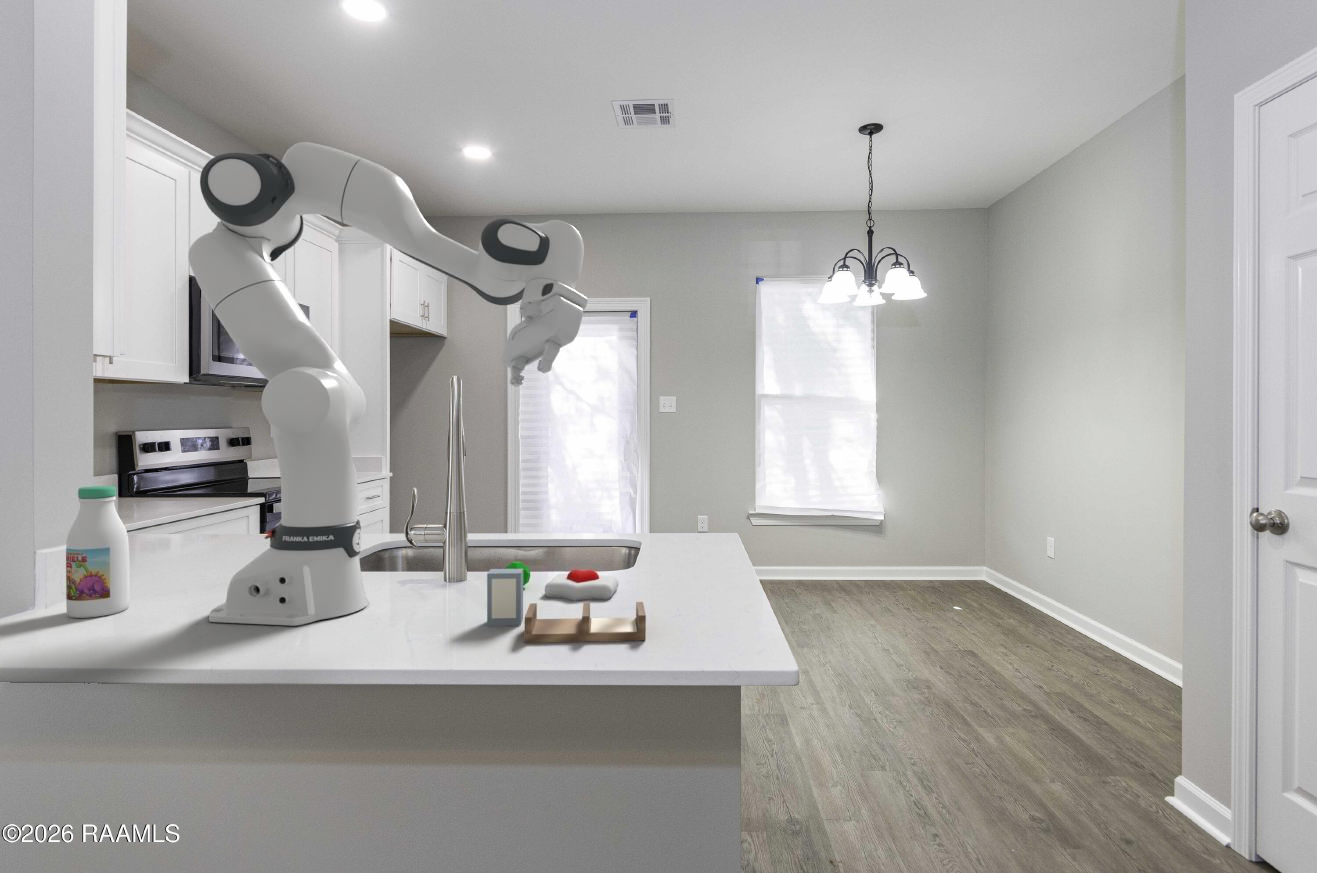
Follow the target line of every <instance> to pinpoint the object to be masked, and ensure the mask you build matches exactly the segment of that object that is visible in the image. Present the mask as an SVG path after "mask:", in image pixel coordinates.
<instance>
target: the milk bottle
mask: <svg viewBox="0 0 1317 873" xmlns="http://www.w3.org/2000/svg"><path fill="white" fill-rule="evenodd" d="M77 491H78V492H77V497H78V502H79V504H80V505H79V510H78V513H77V516H76V518H75V520H74V522H73V524H72V525H71V527H70V529H69V532H68V534H67V538H66V546H65V584H66V585H65V588H66V591H65V594H66V595H65V596H66V598H65V599H66V602H65V603H66V614H67V616H68V617H69V618H73V619H87V618H97V617H105V616H110V615H114V614H118V613H120V612H124V611H125V610H127V609H128V608H129V607H130V605H131V604H130V603H131V602H130V601H131V599H130V598H131V597H130V596H131V594H130V591H131V589H130V586H131V585H130V582H131V581H130V576H131V575H130V574H131V573H130V545H129V535H128V531H127V529H126V527H125V524H124V523H123V521H122V519H121V518H120V515H119V514H118V512H117V509H116V506H115V501H116V500H117V498H116V496H117V489H116V487H115V485H114V486H112V485H93V486H85V487H79V488H78V489H77Z"/></svg>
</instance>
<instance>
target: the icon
mask: <svg viewBox="0 0 1317 873" xmlns="http://www.w3.org/2000/svg"><path fill="white" fill-rule="evenodd" d="M618 588H619V580H618V579H617V577H616V576H614V575H601V574H600V575H599V574H598V572H597V571H595V570H593V569H586V570H581V569H571V570H570V571H569V572H568V573H559V574H557V575H555V576H554V577H553V578H552V579H551V580H549V581H548V582H547V583H546V584H545V586H544V594H545V595H546V596H547V597H549V598H560V597H564V598H565V599H567V598H568V599H567V600H570V599H571V601H574V602H575V601H576V602H577V600H578V601H584V600H583V599H585V600H609V599H611V598H612V596H613V595H614V594H615V592H616V591H617V589H618ZM592 598H593V599H592Z"/></svg>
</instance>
